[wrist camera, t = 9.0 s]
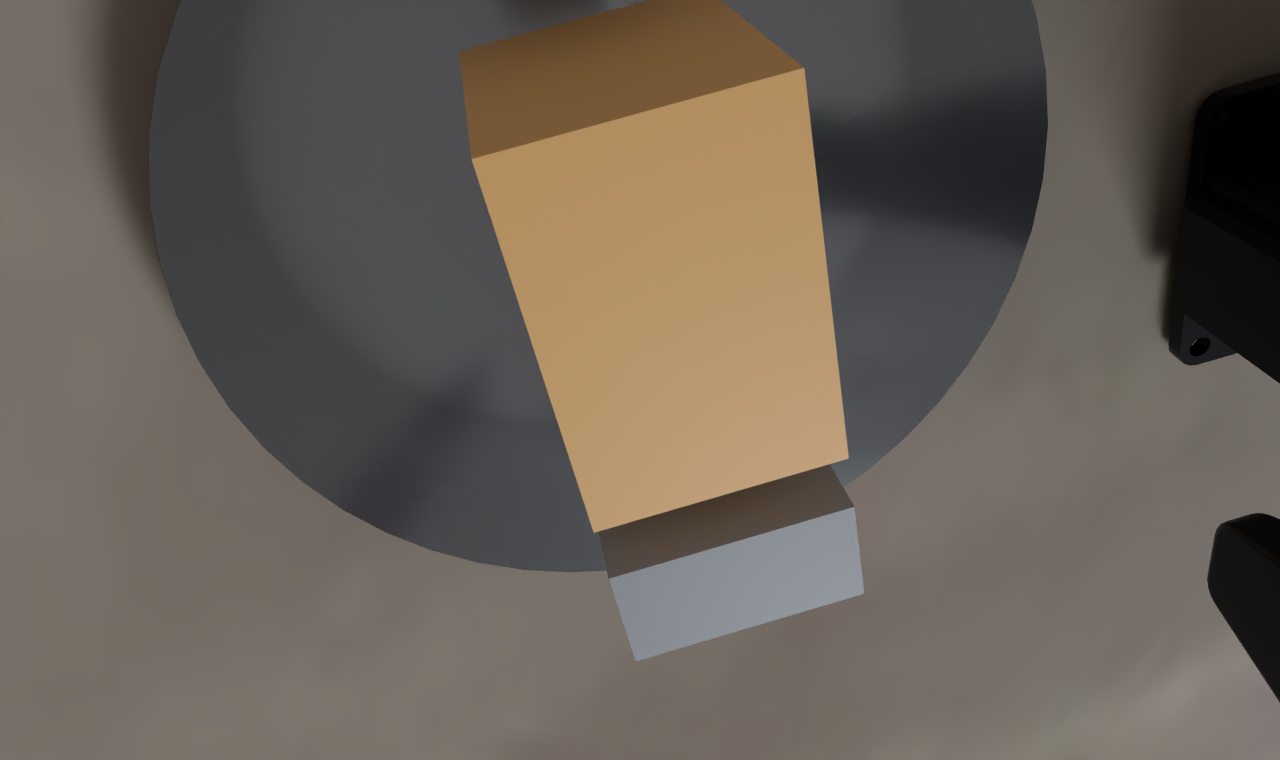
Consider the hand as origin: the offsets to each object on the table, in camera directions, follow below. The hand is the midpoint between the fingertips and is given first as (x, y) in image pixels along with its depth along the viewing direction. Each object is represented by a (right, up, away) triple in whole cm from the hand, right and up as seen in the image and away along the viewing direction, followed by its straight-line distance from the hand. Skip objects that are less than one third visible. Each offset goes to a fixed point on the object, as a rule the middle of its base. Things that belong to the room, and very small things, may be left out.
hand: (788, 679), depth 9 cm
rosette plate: (-2, +6, +9) cm, 11 cm away
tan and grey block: (-2, +5, +8) cm, 10 cm away
